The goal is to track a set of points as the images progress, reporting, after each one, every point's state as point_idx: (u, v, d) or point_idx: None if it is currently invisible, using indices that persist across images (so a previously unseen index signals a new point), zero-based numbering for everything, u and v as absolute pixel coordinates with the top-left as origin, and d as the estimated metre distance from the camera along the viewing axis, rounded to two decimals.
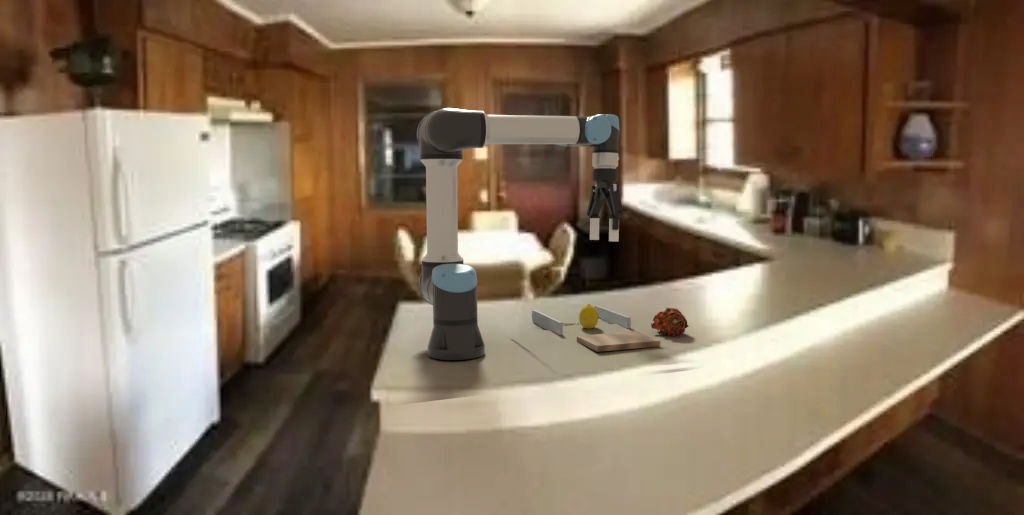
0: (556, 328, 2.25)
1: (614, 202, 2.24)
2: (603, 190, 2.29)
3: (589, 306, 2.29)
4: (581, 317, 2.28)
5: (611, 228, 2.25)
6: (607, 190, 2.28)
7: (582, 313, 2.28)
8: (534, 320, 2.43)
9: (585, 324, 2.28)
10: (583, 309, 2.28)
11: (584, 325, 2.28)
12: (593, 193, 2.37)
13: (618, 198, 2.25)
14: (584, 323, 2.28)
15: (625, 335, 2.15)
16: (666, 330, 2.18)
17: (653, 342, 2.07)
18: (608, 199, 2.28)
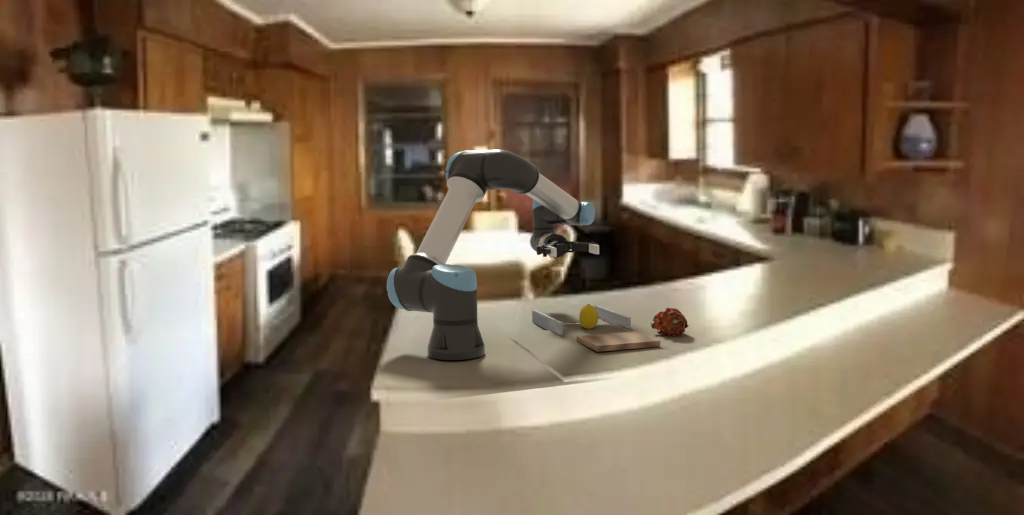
0: (556, 328, 2.25)
1: None
2: None
3: (589, 306, 2.29)
4: (581, 317, 2.28)
5: None
6: (571, 243, 2.52)
7: (582, 313, 2.28)
8: (534, 320, 2.43)
9: (585, 324, 2.28)
10: (583, 309, 2.28)
11: (584, 325, 2.28)
12: (543, 245, 2.48)
13: None
14: (584, 323, 2.28)
15: (625, 335, 2.15)
16: (666, 330, 2.18)
17: (653, 342, 2.07)
18: None
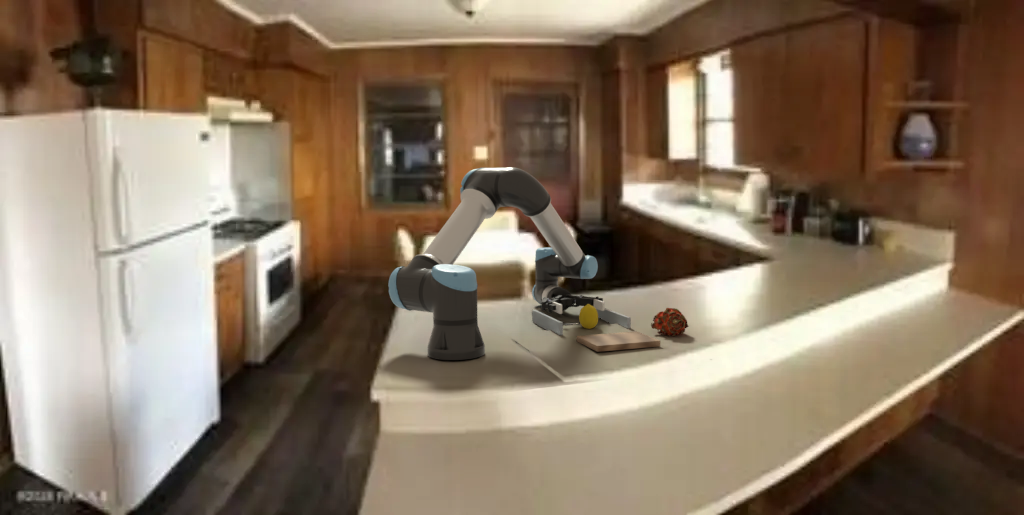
0: (556, 328, 2.25)
1: None
2: None
3: (589, 306, 2.29)
4: (581, 317, 2.28)
5: None
6: (575, 297, 2.51)
7: (582, 313, 2.28)
8: (534, 320, 2.43)
9: (585, 324, 2.28)
10: (583, 309, 2.28)
11: (584, 325, 2.28)
12: (547, 299, 2.47)
13: None
14: (584, 323, 2.28)
15: (625, 335, 2.15)
16: (666, 330, 2.18)
17: (653, 342, 2.07)
18: None
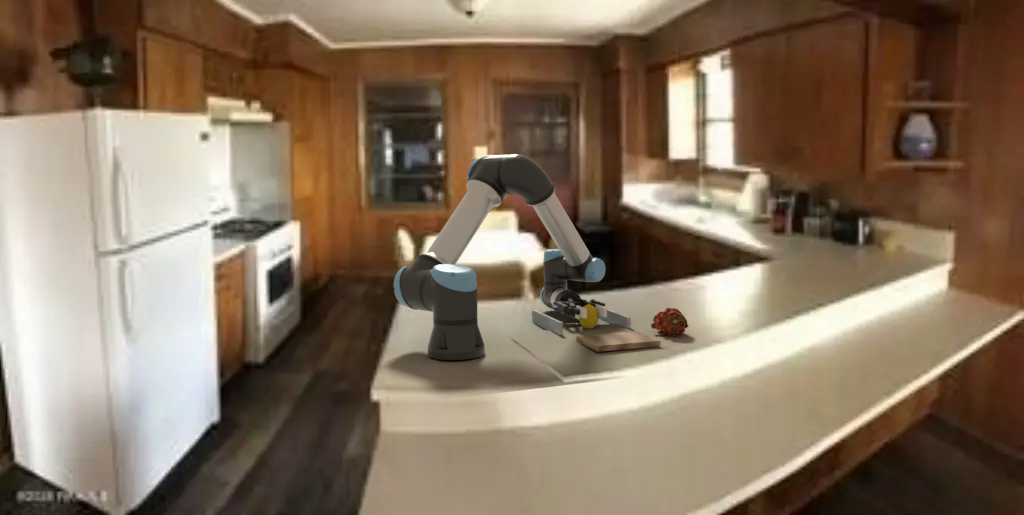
0: (556, 328, 2.25)
1: None
2: None
3: (589, 306, 2.29)
4: (581, 317, 2.28)
5: None
6: None
7: None
8: (534, 320, 2.43)
9: (585, 324, 2.28)
10: None
11: (584, 325, 2.28)
12: None
13: None
14: (584, 322, 2.28)
15: (625, 335, 2.15)
16: (666, 330, 2.18)
17: (653, 342, 2.07)
18: None
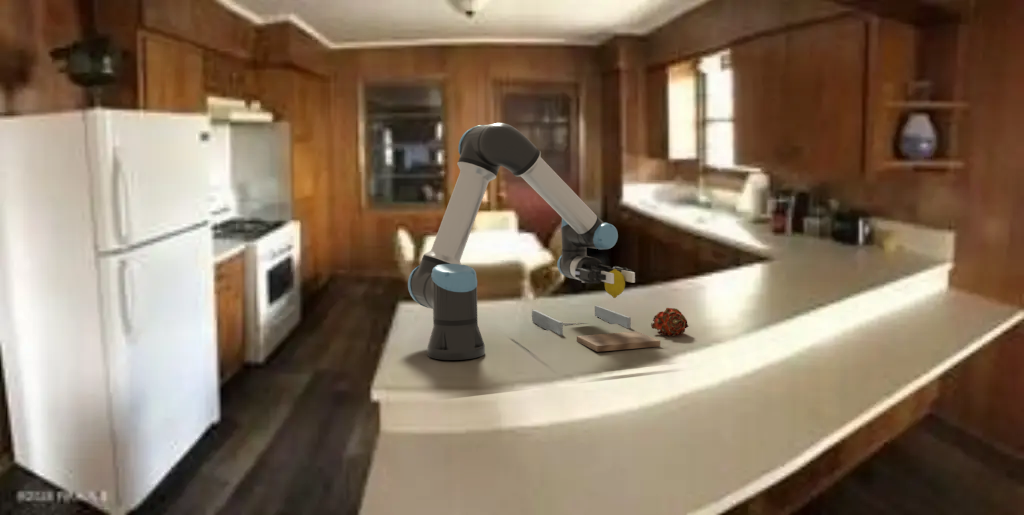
0: (556, 328, 2.25)
1: None
2: None
3: (616, 271, 2.13)
4: (607, 283, 2.13)
5: None
6: None
7: None
8: (534, 320, 2.43)
9: (611, 291, 2.13)
10: None
11: (610, 291, 2.13)
12: None
13: None
14: (610, 289, 2.13)
15: (625, 335, 2.15)
16: (666, 330, 2.18)
17: (653, 342, 2.07)
18: None
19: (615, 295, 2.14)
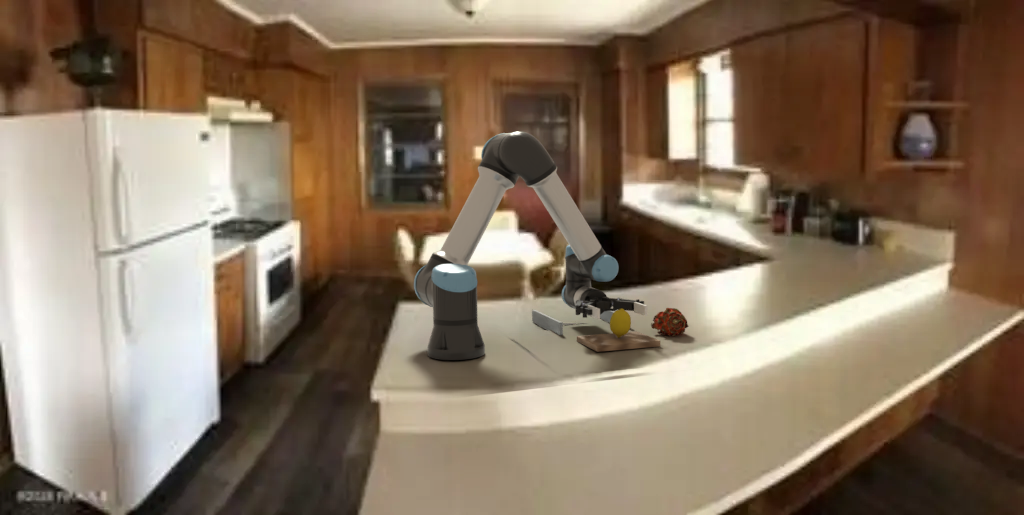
0: (556, 328, 2.25)
1: None
2: None
3: (623, 311, 2.09)
4: (613, 322, 2.09)
5: None
6: (612, 300, 2.22)
7: (614, 318, 2.09)
8: (534, 320, 2.43)
9: (616, 330, 2.09)
10: (616, 314, 2.09)
11: (615, 331, 2.09)
12: (581, 302, 2.19)
13: None
14: (615, 328, 2.09)
15: (625, 335, 2.15)
16: (666, 330, 2.18)
17: (653, 342, 2.07)
18: None
19: (619, 335, 2.10)
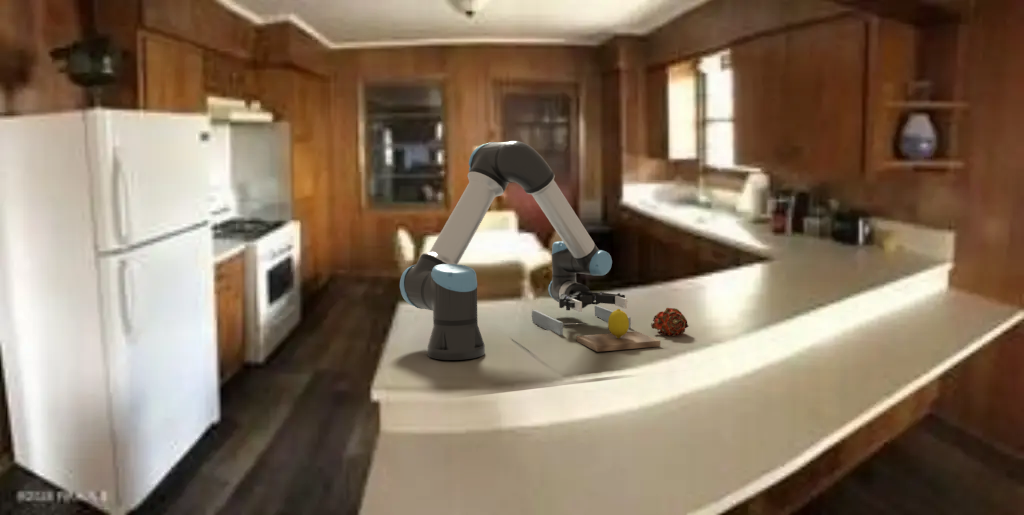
0: (556, 328, 2.25)
1: None
2: None
3: (619, 311, 2.09)
4: (610, 323, 2.09)
5: None
6: (595, 294, 2.34)
7: (612, 319, 2.09)
8: (534, 320, 2.43)
9: (615, 331, 2.09)
10: (613, 315, 2.09)
11: (614, 332, 2.09)
12: (565, 296, 2.31)
13: None
14: (614, 329, 2.09)
15: (625, 335, 2.15)
16: (666, 330, 2.18)
17: (653, 342, 2.07)
18: None
19: (619, 335, 2.10)
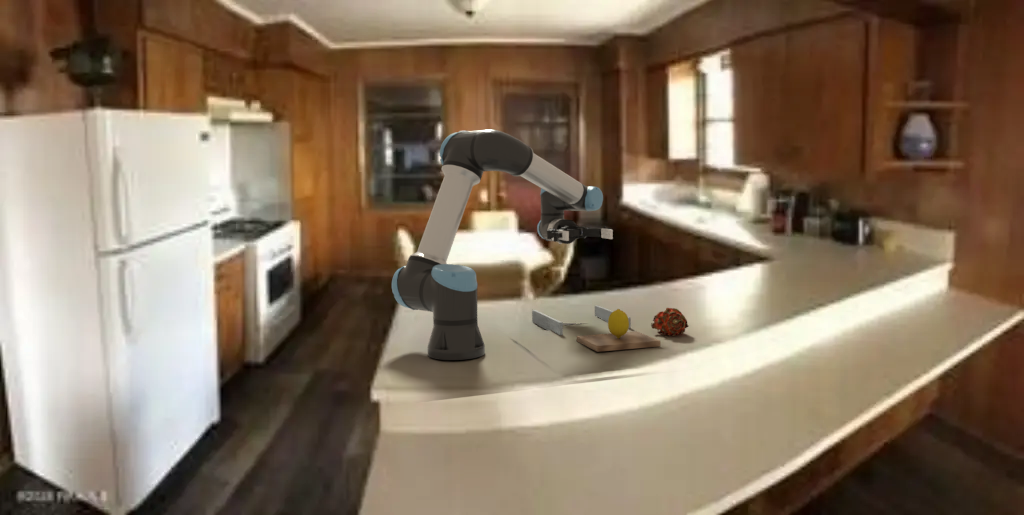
0: (556, 328, 2.25)
1: None
2: None
3: (619, 311, 2.09)
4: (610, 323, 2.09)
5: None
6: (582, 229, 2.41)
7: (612, 319, 2.09)
8: (534, 320, 2.43)
9: (615, 331, 2.09)
10: (613, 315, 2.09)
11: (614, 332, 2.09)
12: (553, 230, 2.38)
13: None
14: (614, 329, 2.09)
15: (625, 335, 2.15)
16: (666, 330, 2.18)
17: (653, 342, 2.07)
18: None
19: (619, 335, 2.10)
